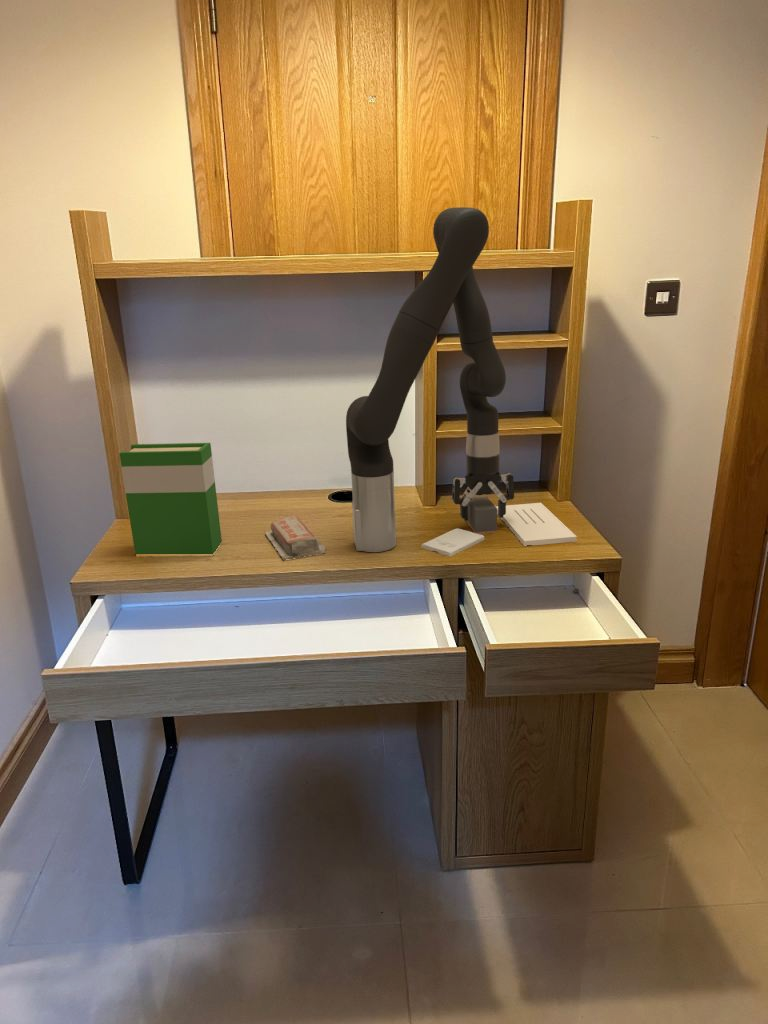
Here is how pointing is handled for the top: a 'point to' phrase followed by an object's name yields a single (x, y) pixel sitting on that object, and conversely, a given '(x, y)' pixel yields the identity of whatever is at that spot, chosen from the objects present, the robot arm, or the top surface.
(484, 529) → the block
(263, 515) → the top surface
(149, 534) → the hardback book
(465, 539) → the external hard drive
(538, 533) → the board
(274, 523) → the packaged product
